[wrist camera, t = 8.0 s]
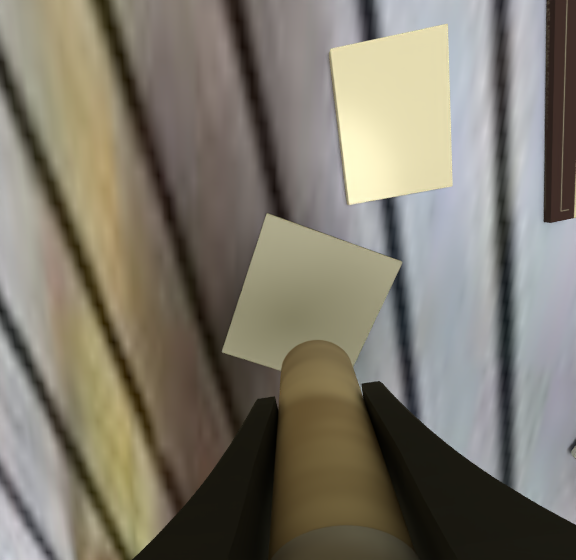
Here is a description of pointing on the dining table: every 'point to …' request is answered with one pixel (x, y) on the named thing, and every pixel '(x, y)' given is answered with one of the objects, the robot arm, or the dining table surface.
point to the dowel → (330, 467)
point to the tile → (394, 114)
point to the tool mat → (307, 294)
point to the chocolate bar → (560, 111)
